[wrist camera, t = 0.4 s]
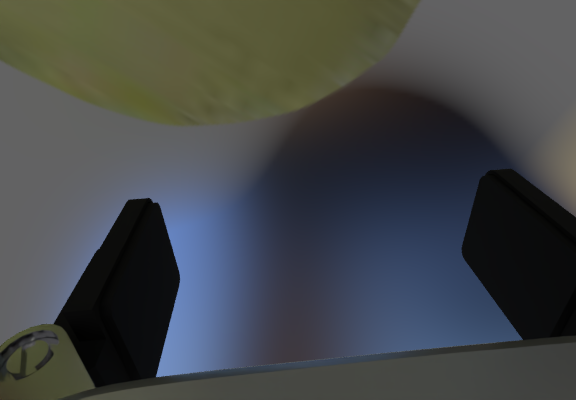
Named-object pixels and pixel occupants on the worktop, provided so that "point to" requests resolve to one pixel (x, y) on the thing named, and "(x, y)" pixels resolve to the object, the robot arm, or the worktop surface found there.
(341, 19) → the worktop surface
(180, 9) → the worktop surface
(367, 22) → the worktop surface
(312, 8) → the worktop surface
